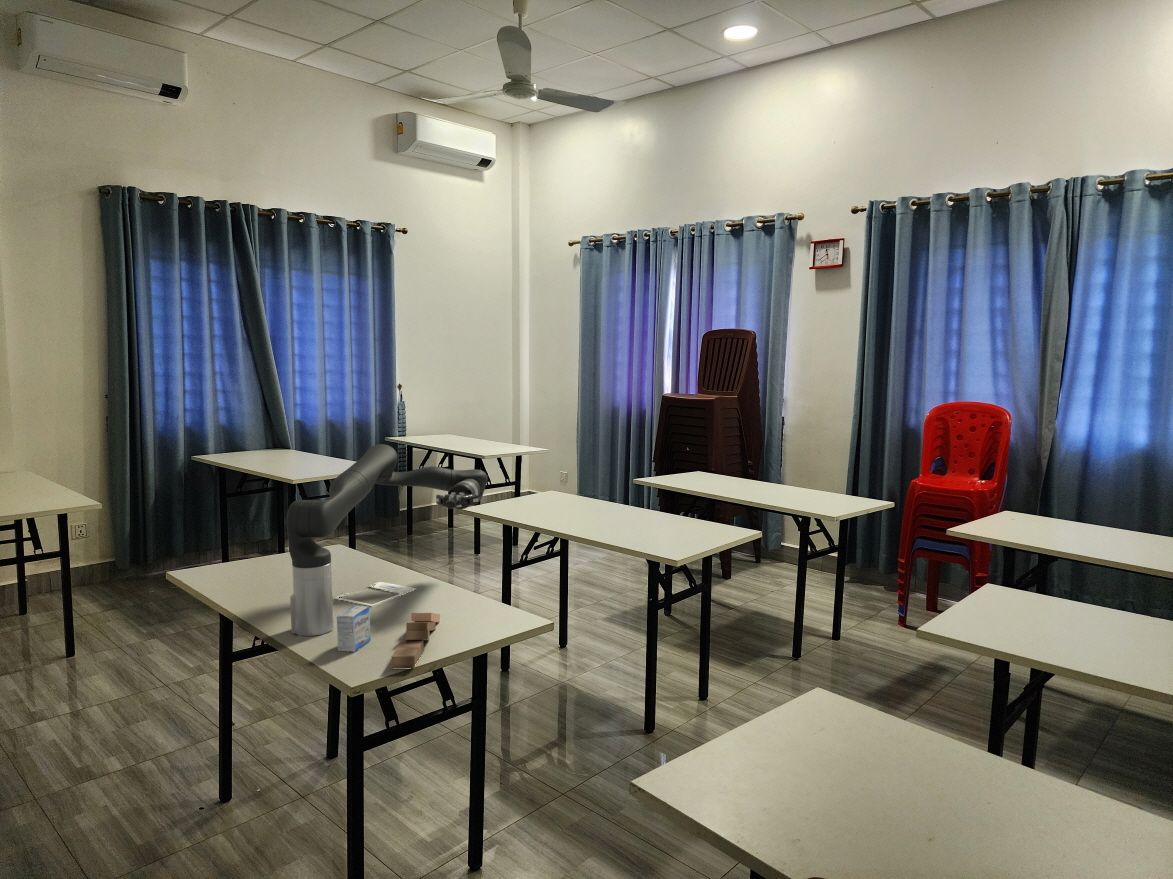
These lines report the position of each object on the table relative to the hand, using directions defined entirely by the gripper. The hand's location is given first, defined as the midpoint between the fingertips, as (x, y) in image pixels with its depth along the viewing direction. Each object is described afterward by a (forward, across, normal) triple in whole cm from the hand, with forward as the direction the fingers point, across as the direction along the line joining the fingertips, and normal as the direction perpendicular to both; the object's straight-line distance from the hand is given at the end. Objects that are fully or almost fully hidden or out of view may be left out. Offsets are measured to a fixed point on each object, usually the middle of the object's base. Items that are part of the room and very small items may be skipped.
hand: (450, 505), depth 208 cm
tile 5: (+36, -1, +28) cm, 45 cm away
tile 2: (+21, -2, +27) cm, 34 cm away
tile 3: (+28, -2, +27) cm, 39 cm away
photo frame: (-7, -24, +29) cm, 38 cm away
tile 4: (+37, -1, +26) cm, 45 cm away
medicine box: (+33, -16, +28) cm, 46 cm away
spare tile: (+16, -2, +27) cm, 31 cm away
